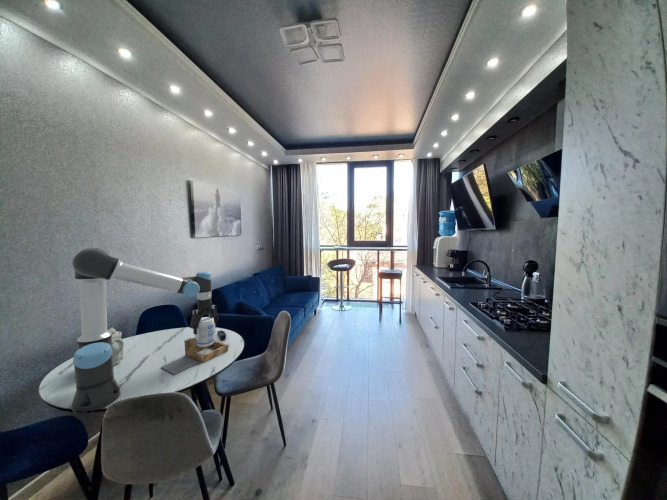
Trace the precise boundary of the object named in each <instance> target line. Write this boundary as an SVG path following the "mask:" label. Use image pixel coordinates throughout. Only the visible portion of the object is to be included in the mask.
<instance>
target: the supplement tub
mask: <svg viewBox="0 0 667 500" xmlns="http://www.w3.org/2000/svg"><path fill="white" fill-rule="evenodd" d="M197 328H199V340H197V339H196V343H197V346H199V347H205V346H209V345H212V344H213V343H214V340H215V334H214V318H211V317H209V316H205V317H204V316H203V317H202V318H201V320H200V322H199V325H198V327H197ZM209 347H210V346H209Z"/></svg>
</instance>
